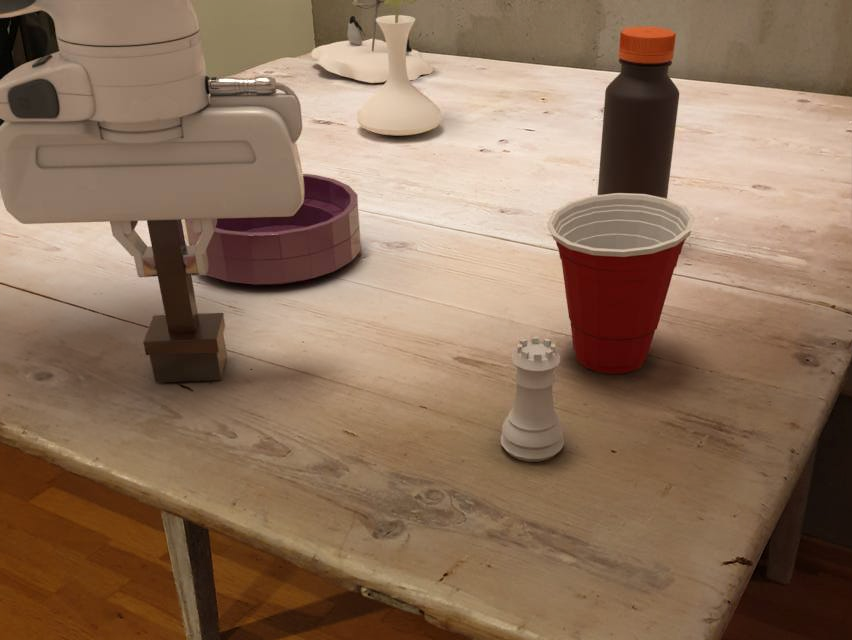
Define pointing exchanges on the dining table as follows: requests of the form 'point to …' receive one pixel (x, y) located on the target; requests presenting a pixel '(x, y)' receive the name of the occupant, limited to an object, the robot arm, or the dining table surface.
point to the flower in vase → (398, 87)
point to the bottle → (640, 116)
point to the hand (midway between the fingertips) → (173, 273)
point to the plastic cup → (617, 273)
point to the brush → (181, 316)
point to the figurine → (366, 55)
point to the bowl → (287, 239)
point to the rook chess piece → (533, 404)
